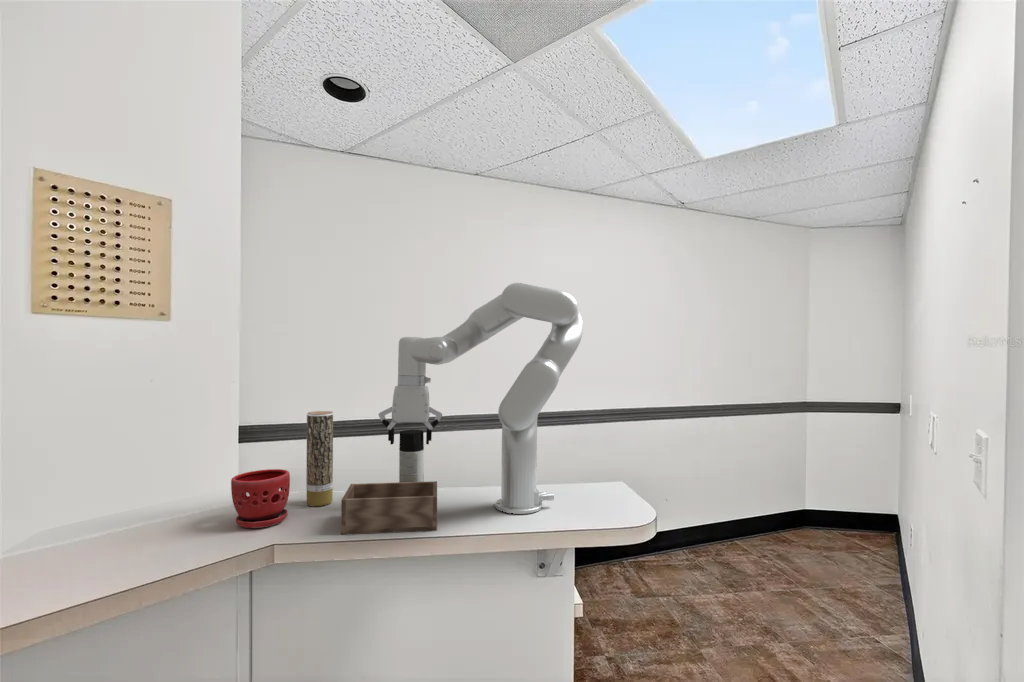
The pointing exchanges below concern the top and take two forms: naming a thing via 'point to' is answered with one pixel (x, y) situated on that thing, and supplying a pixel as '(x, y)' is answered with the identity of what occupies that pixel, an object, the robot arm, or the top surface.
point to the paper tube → (319, 458)
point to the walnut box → (389, 508)
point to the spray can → (411, 456)
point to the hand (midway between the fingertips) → (409, 443)
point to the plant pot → (260, 497)
